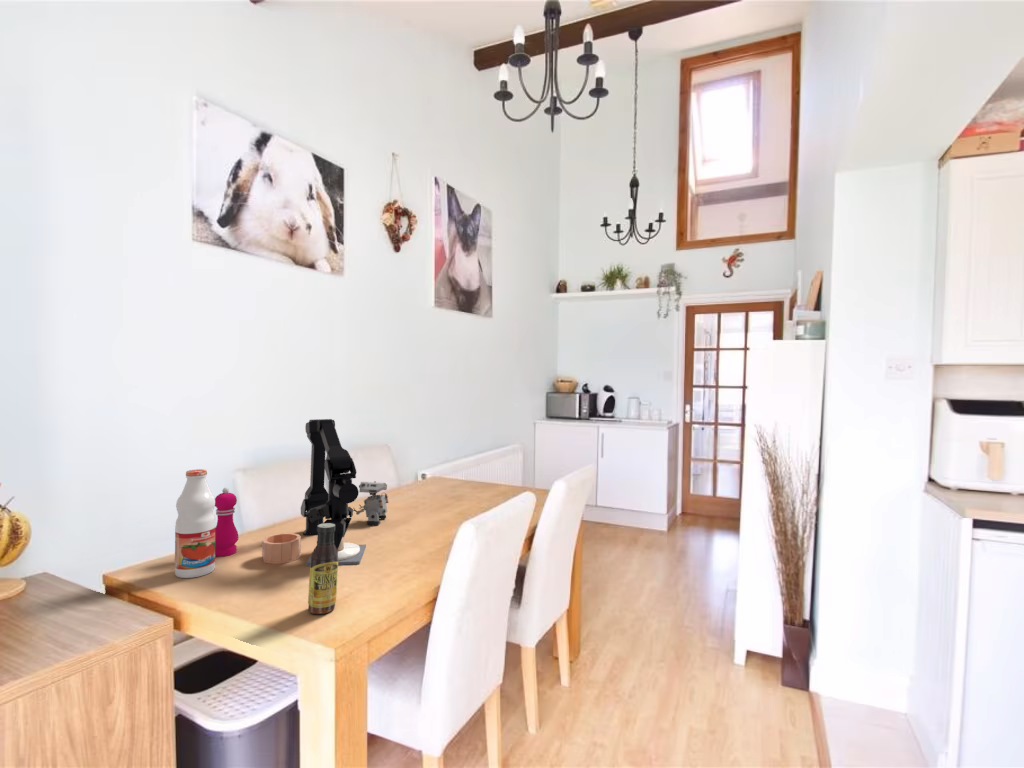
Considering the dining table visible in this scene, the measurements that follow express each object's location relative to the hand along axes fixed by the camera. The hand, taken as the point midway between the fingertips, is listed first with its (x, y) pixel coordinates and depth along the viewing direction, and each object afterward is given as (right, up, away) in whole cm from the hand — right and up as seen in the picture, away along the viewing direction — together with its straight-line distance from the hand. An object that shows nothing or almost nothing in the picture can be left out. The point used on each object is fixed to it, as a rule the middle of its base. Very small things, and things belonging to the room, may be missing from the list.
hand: (337, 547), depth 154 cm
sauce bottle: (+9, -4, -35) cm, 36 cm away
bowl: (-16, -3, -3) cm, 16 cm away
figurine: (0, -2, +36) cm, 37 cm away
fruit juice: (-34, -2, -15) cm, 37 cm away
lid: (0, -2, 0) cm, 2 cm away
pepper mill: (-35, -2, 0) cm, 35 cm away
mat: (0, -3, 0) cm, 3 cm away
